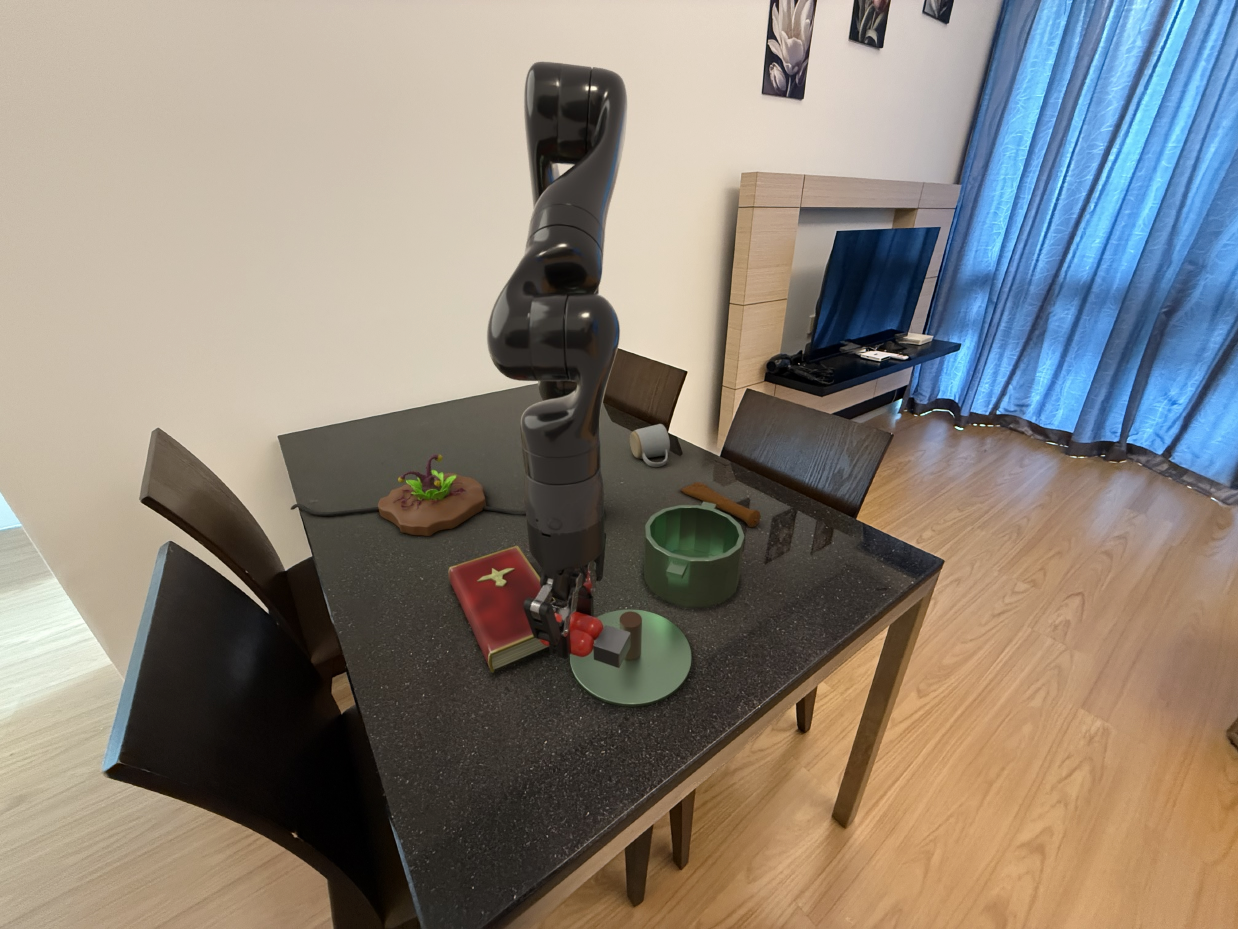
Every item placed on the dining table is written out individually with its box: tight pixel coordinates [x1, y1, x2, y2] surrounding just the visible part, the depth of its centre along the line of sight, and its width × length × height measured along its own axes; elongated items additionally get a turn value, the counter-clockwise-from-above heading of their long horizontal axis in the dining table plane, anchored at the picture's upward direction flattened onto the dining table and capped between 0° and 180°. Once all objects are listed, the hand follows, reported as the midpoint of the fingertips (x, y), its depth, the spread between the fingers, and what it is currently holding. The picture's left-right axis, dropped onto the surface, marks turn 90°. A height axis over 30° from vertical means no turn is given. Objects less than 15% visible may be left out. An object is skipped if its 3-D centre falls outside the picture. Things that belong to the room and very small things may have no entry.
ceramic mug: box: [629, 423, 671, 468], centre depth 127 cm, size 11×8×8 cm
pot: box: [643, 501, 745, 608], centre depth 87 cm, size 16×21×10 cm
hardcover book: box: [447, 545, 557, 674], centre depth 81 cm, size 12×21×4 cm, turn 30°
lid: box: [569, 608, 693, 708], centre depth 72 cm, size 17×17×7 cm
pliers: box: [539, 611, 631, 668], centre depth 58 cm, size 10×5×3 cm, turn 67°
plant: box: [377, 453, 487, 537], centre depth 107 cm, size 20×20×11 cm
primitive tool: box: [680, 482, 761, 528], centre depth 108 cm, size 19×6×4 cm, turn 38°
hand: (572, 636), depth 59 cm, fingers closed on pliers, 5 cm apart
